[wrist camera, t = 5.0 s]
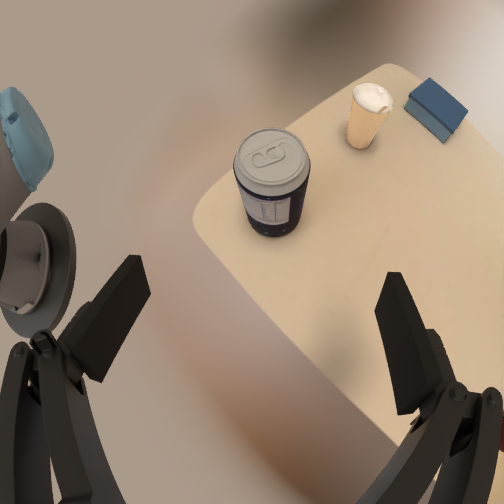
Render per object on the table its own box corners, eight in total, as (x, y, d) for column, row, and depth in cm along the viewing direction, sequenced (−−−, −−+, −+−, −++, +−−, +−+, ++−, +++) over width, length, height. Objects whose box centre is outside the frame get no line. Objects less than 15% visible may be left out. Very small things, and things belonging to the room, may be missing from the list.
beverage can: (308, 227, 29) (326, 173, 17) (259, 247, 29) (247, 202, 17) (287, 184, 30) (291, 114, 19) (240, 201, 30) (220, 138, 19)
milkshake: (344, 158, 31) (364, 103, 21) (338, 124, 32) (352, 69, 22) (378, 160, 30) (406, 109, 20) (370, 127, 31) (391, 75, 22)
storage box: (402, 108, 32) (409, 93, 28) (422, 90, 33) (429, 77, 29) (443, 144, 30) (454, 131, 27) (459, 122, 31) (468, 110, 27)
